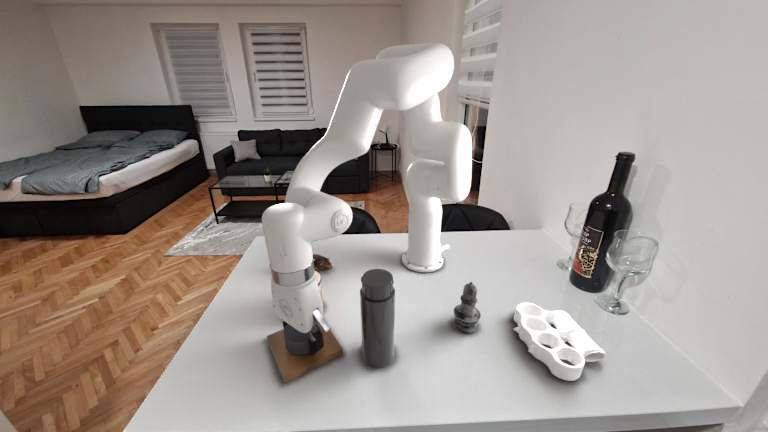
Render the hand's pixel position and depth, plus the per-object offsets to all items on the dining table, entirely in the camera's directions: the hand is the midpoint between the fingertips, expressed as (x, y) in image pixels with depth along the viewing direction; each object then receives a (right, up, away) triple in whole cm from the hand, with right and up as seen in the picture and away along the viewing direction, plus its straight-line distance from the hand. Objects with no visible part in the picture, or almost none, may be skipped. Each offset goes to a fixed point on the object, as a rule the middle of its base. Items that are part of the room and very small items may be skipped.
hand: (304, 340), depth 63 cm
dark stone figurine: (+35, +1, +6) cm, 36 cm away
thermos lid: (0, 0, 0) cm, 0 cm away
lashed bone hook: (-8, +10, +28) cm, 31 cm away
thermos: (+15, -2, -1) cm, 16 cm away
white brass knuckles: (+52, -1, +2) cm, 52 cm away
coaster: (0, -2, +1) cm, 2 cm away
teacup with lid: (-3, +3, +12) cm, 13 cm away
